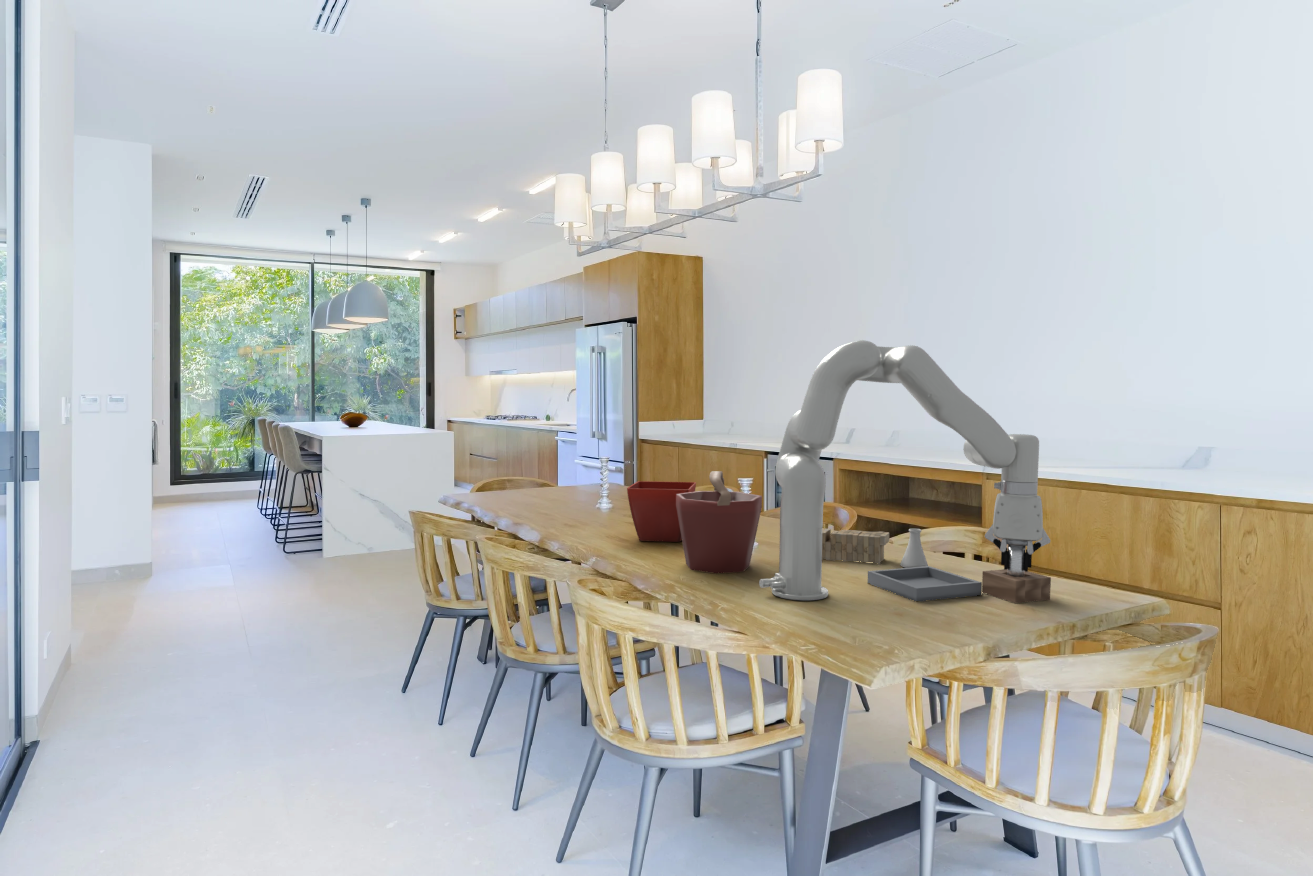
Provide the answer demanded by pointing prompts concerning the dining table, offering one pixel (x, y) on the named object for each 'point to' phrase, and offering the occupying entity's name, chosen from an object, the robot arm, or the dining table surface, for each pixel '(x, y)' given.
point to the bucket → (718, 527)
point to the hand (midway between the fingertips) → (1015, 568)
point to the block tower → (854, 545)
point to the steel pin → (1016, 557)
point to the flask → (914, 551)
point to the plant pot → (657, 509)
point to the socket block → (1016, 586)
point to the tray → (924, 583)
